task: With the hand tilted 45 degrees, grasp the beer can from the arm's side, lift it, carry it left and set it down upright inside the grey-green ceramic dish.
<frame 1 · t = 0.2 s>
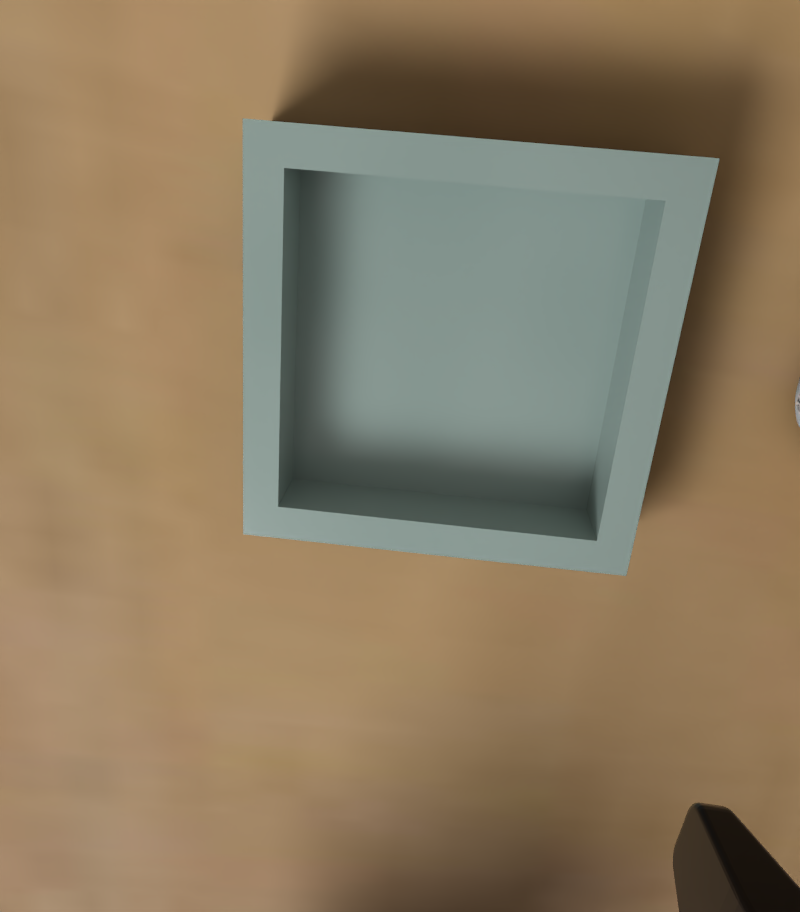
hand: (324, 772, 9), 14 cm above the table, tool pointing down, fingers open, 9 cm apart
dish: (454, 345, 22), on the table
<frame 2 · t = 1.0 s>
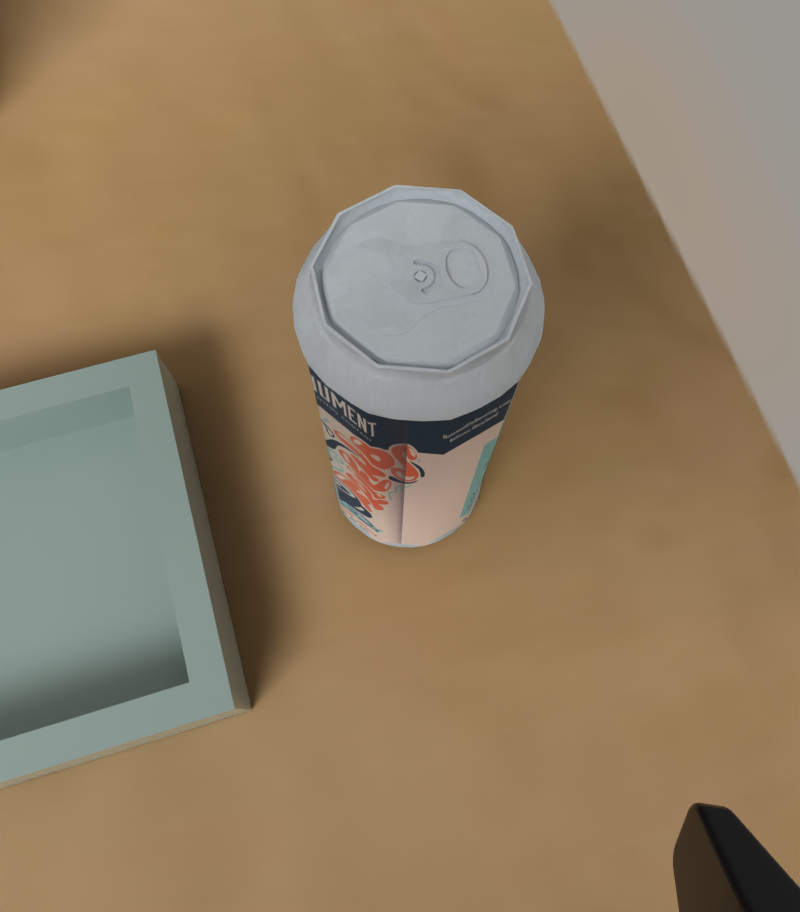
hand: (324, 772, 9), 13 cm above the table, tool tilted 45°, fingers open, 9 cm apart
dish: (38, 585, 23), on the table
beer can: (406, 481, 25), on the table
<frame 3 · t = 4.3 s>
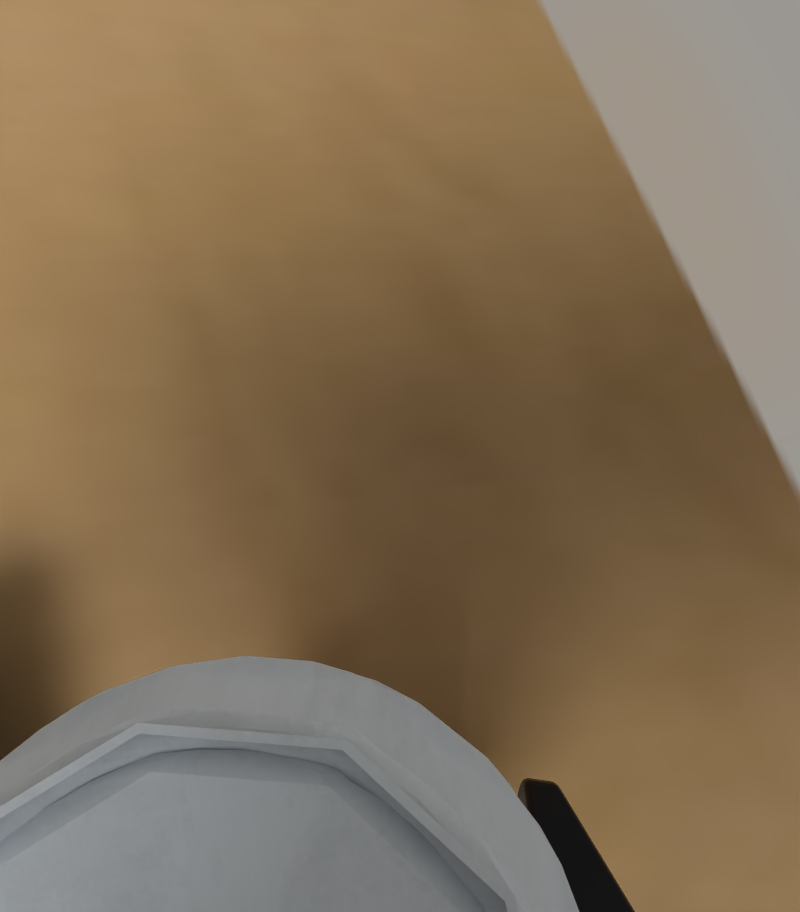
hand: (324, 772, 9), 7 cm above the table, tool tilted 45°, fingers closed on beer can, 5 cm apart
beer can: (340, 828, 15), on the table, touching gripper
when the fingers open (8 cm above the table, at t = 8.3 s): beer can drops 1 cm, resting on dish.
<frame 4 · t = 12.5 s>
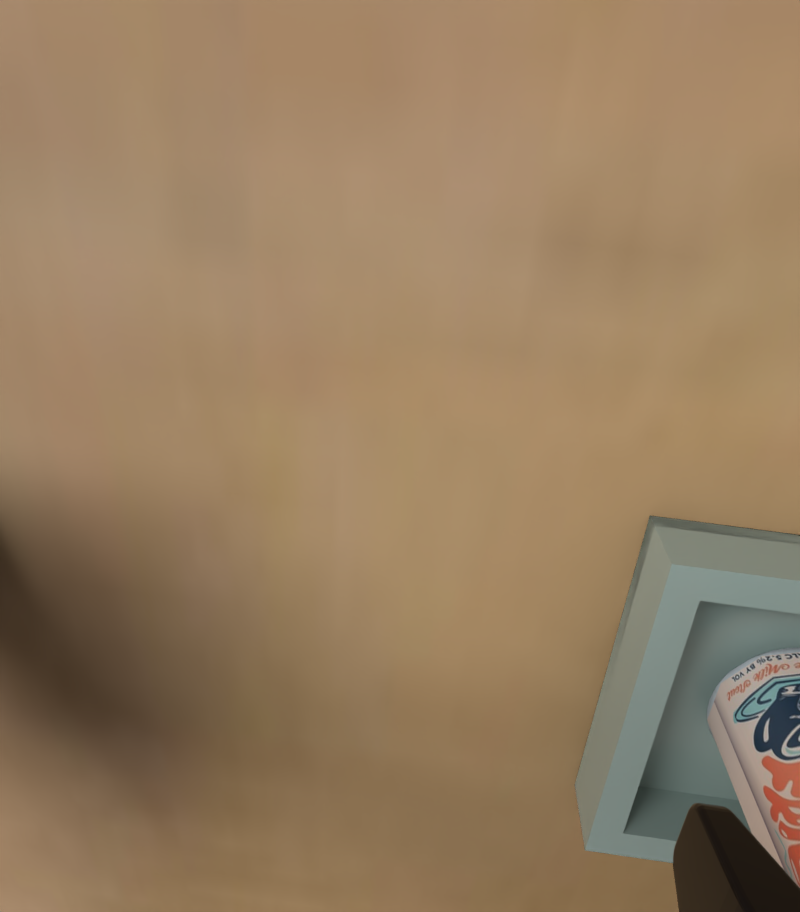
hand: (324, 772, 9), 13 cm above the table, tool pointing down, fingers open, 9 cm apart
dish: (780, 686, 24), on the table
beer can: (778, 694, 24), resting on dish
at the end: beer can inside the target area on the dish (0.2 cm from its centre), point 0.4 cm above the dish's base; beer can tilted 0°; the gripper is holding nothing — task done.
